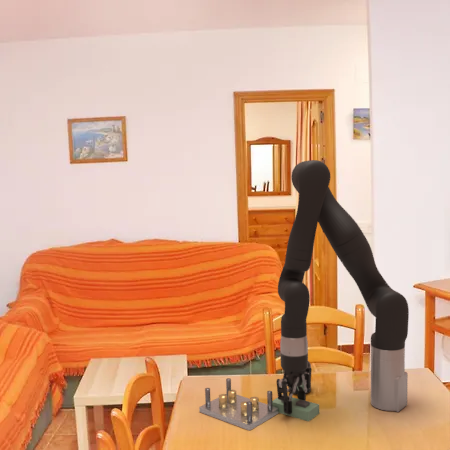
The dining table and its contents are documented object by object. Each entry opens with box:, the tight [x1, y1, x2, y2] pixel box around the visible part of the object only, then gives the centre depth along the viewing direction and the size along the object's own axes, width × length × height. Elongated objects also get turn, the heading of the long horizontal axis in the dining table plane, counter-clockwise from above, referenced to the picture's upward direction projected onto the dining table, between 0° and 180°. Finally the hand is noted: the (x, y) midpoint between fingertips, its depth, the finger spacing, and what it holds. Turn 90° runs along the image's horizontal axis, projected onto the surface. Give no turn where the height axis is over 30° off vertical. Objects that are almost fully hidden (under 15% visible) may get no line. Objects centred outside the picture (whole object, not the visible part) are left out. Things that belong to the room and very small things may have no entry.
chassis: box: [198, 377, 280, 431], centre depth 154 cm, size 18×13×6 cm
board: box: [272, 396, 320, 422], centre depth 154 cm, size 12×6×4 cm, turn 52°
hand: (295, 408), depth 154 cm, fingers closed on board, 6 cm apart
